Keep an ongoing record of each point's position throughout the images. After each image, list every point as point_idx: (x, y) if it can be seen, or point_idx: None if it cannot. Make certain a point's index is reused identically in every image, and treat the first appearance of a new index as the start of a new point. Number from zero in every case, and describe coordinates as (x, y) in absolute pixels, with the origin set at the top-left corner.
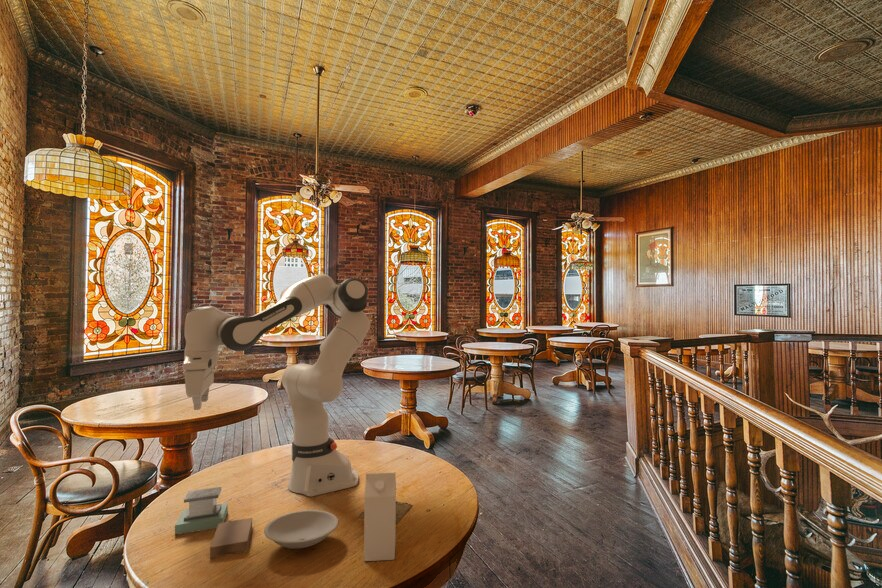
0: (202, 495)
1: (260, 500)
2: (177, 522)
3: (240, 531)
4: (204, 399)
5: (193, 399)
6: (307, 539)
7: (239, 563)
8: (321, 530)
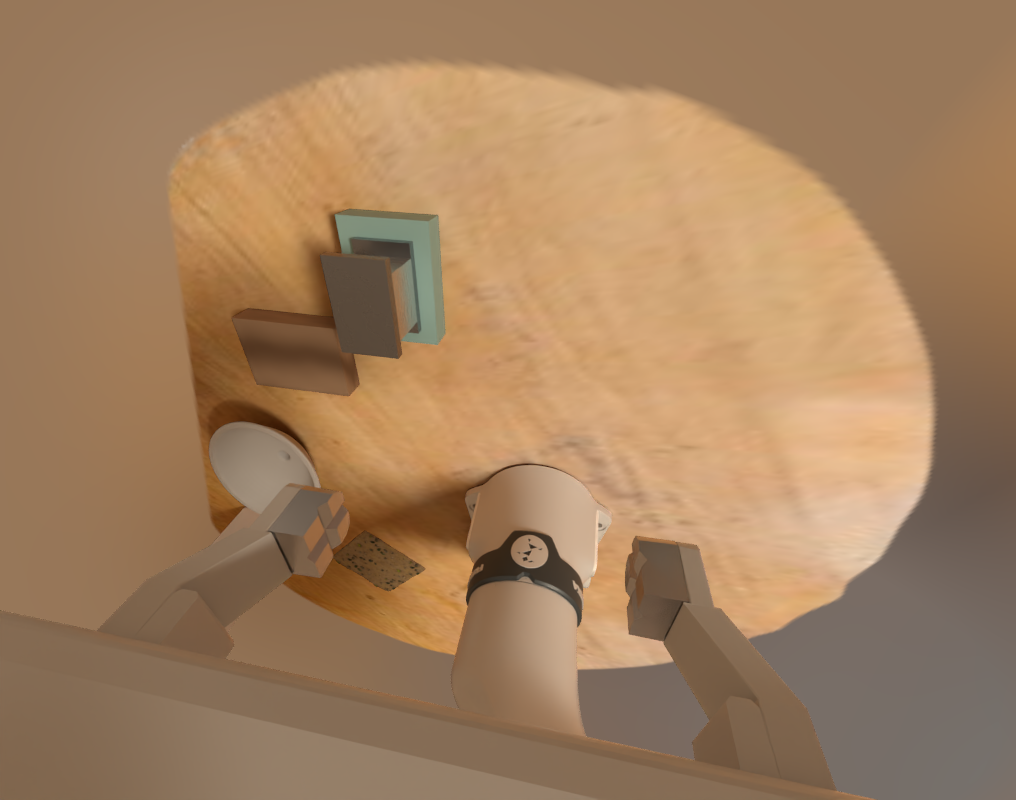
0: (344, 309)
1: (488, 405)
2: (349, 218)
3: (293, 373)
4: (633, 578)
5: (163, 581)
6: (219, 476)
7: (235, 360)
8: None
